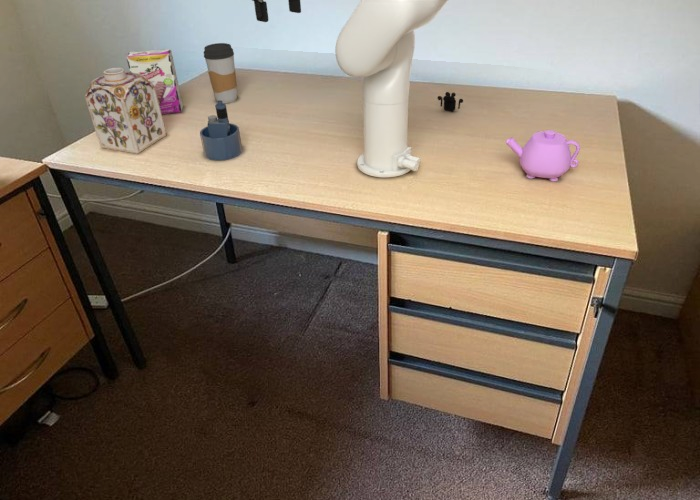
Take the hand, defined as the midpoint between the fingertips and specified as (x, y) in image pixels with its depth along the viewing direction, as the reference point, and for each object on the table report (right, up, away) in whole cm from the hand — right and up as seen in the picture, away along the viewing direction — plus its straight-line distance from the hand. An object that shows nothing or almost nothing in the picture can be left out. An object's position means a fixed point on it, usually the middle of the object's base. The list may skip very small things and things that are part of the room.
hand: (279, 16), depth 118 cm
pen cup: (-15, -28, +11) cm, 33 cm away
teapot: (+56, -35, -3) cm, 66 cm away
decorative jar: (-39, -24, +18) cm, 49 cm away
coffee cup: (-21, -7, +40) cm, 46 cm away
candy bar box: (-37, -12, +34) cm, 52 cm away
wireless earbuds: (+42, -14, +27) cm, 52 cm away
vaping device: (-15, -27, +11) cm, 33 cm away
